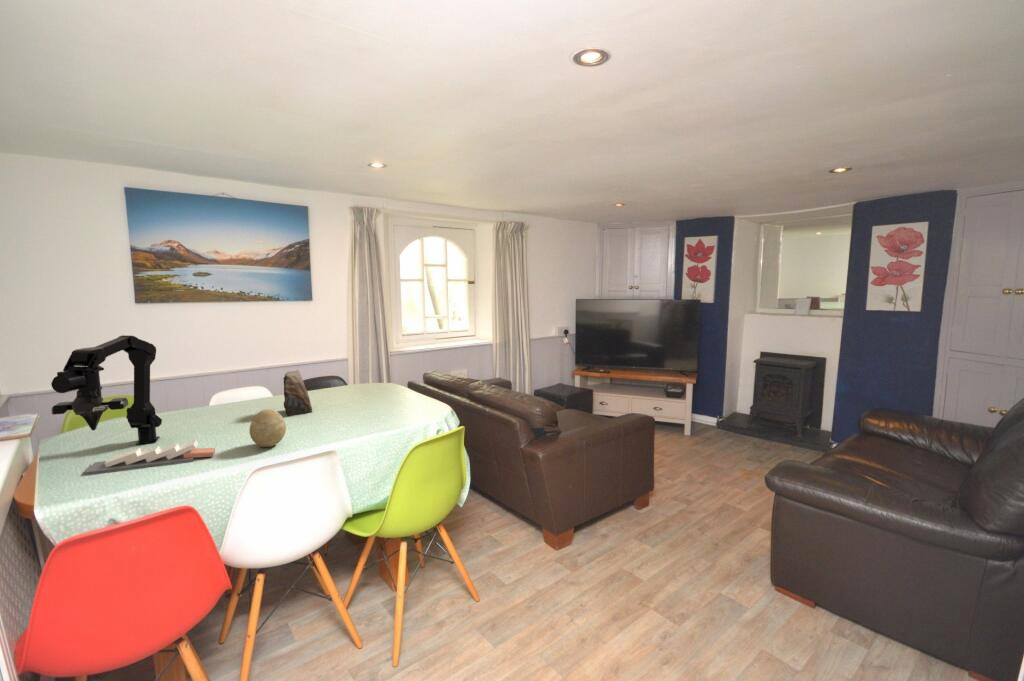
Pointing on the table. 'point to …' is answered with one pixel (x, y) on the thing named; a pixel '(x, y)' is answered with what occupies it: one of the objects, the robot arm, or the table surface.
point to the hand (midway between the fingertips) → (93, 429)
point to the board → (135, 464)
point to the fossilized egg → (267, 428)
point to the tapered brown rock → (295, 395)
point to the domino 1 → (122, 457)
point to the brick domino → (200, 453)
